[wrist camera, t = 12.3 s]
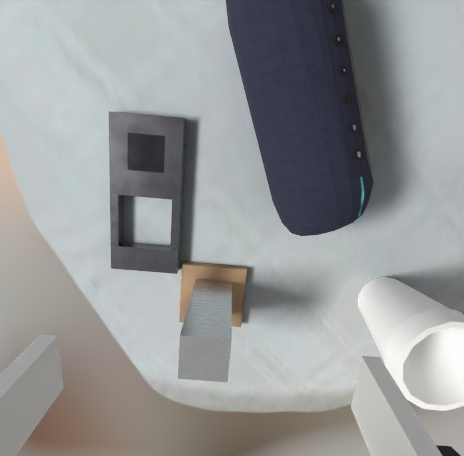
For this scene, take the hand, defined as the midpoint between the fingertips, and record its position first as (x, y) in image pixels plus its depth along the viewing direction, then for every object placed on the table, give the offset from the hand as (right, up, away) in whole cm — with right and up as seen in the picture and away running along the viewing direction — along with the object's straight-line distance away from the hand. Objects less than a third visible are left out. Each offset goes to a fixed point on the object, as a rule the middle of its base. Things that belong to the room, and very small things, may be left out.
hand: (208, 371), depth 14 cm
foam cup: (+21, -3, +27) cm, 34 cm away
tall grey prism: (-1, -2, +26) cm, 26 cm away
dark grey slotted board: (-9, +10, +24) cm, 27 cm away
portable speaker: (+8, +19, +22) cm, 30 cm away
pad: (-1, -2, +27) cm, 27 cm away
